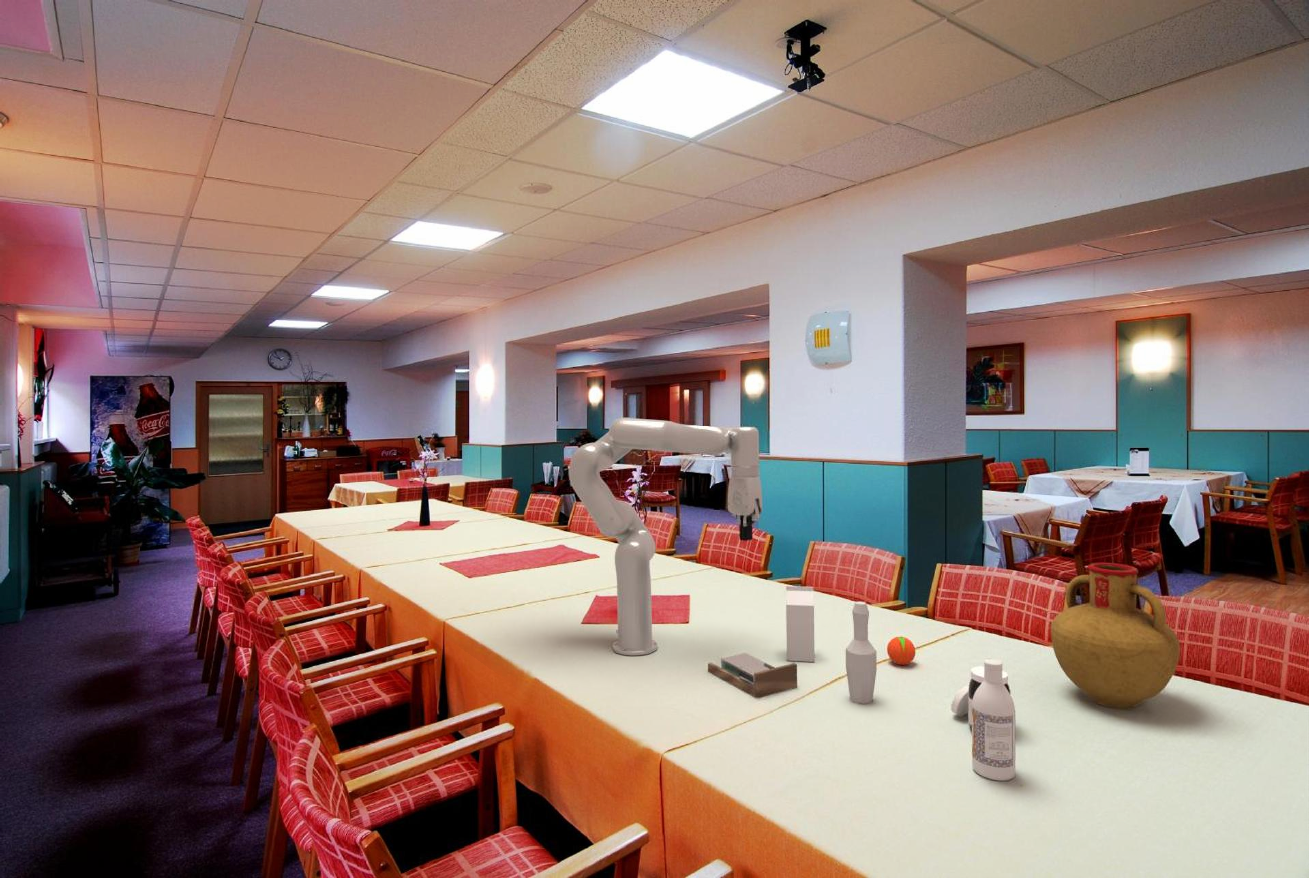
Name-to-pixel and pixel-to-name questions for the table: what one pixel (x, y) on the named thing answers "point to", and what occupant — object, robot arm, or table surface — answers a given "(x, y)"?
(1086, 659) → the vase
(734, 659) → the tin
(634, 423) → the robot arm
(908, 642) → the clementine
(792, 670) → the lane
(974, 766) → the bath foam
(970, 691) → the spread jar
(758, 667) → the white square block
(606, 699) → the table surface
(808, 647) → the milk carton
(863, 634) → the faceted bottle
